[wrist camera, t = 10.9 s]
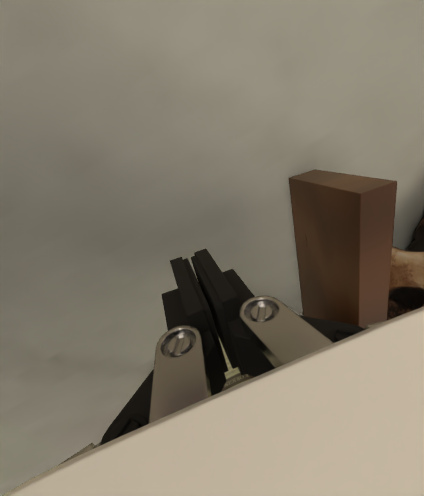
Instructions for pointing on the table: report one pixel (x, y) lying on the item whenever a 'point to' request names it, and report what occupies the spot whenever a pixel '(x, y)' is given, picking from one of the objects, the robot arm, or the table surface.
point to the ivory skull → (407, 277)
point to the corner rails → (343, 244)
